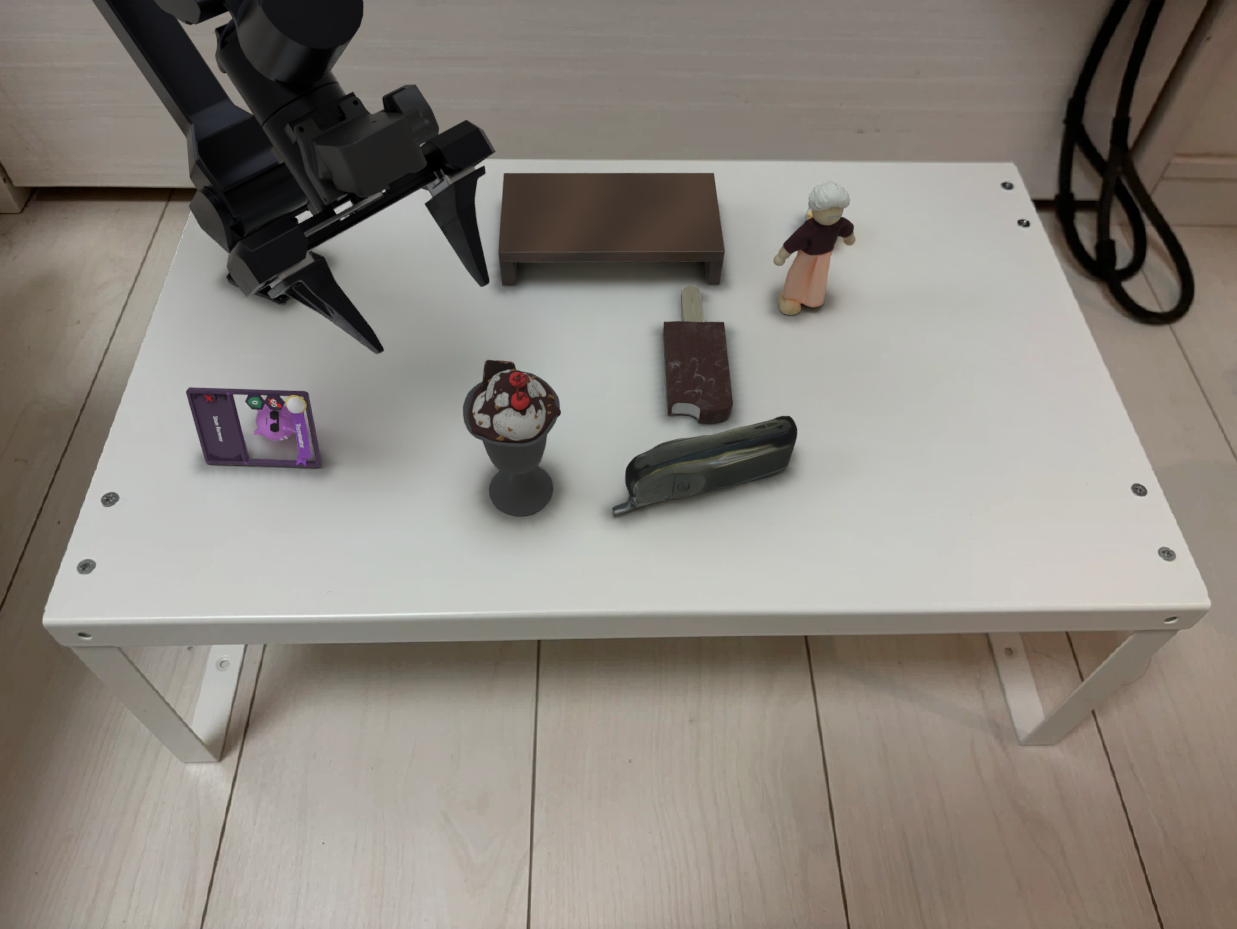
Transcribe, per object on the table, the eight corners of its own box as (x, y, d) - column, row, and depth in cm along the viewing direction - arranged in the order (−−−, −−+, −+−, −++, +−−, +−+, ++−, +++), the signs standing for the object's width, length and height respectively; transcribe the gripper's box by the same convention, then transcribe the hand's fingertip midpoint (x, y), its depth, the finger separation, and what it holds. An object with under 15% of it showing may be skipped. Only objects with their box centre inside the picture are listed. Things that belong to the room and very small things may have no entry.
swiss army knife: (789, 405, 71) (605, 454, 68) (807, 434, 69) (620, 487, 66) (777, 444, 75) (603, 493, 72) (794, 472, 74) (617, 524, 70)
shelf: (501, 285, 85) (498, 252, 81) (507, 206, 91) (503, 172, 88) (719, 284, 85) (724, 251, 82) (709, 206, 92) (714, 172, 88)
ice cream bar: (660, 293, 84) (667, 424, 76) (661, 280, 83) (669, 411, 74) (718, 294, 85) (732, 424, 76) (720, 280, 83) (734, 411, 75)
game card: (181, 394, 68) (303, 398, 68) (208, 360, 72) (323, 364, 72) (202, 469, 72) (318, 473, 72) (226, 432, 76) (336, 436, 76)
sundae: (553, 533, 70) (544, 407, 57) (467, 516, 70) (440, 389, 58) (573, 463, 73) (569, 331, 61) (491, 448, 74) (471, 315, 62)
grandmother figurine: (785, 329, 82) (812, 215, 72) (758, 302, 84) (781, 188, 74) (850, 296, 85) (886, 181, 74) (823, 271, 87) (854, 156, 76)
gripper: (183, 128, 49) (354, 381, 53) (460, 0, 56) (588, 230, 61) (164, 183, 58) (310, 393, 63) (403, 67, 66) (517, 261, 71)
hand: (434, 317), depth 64 cm, fingers open, 9 cm apart
